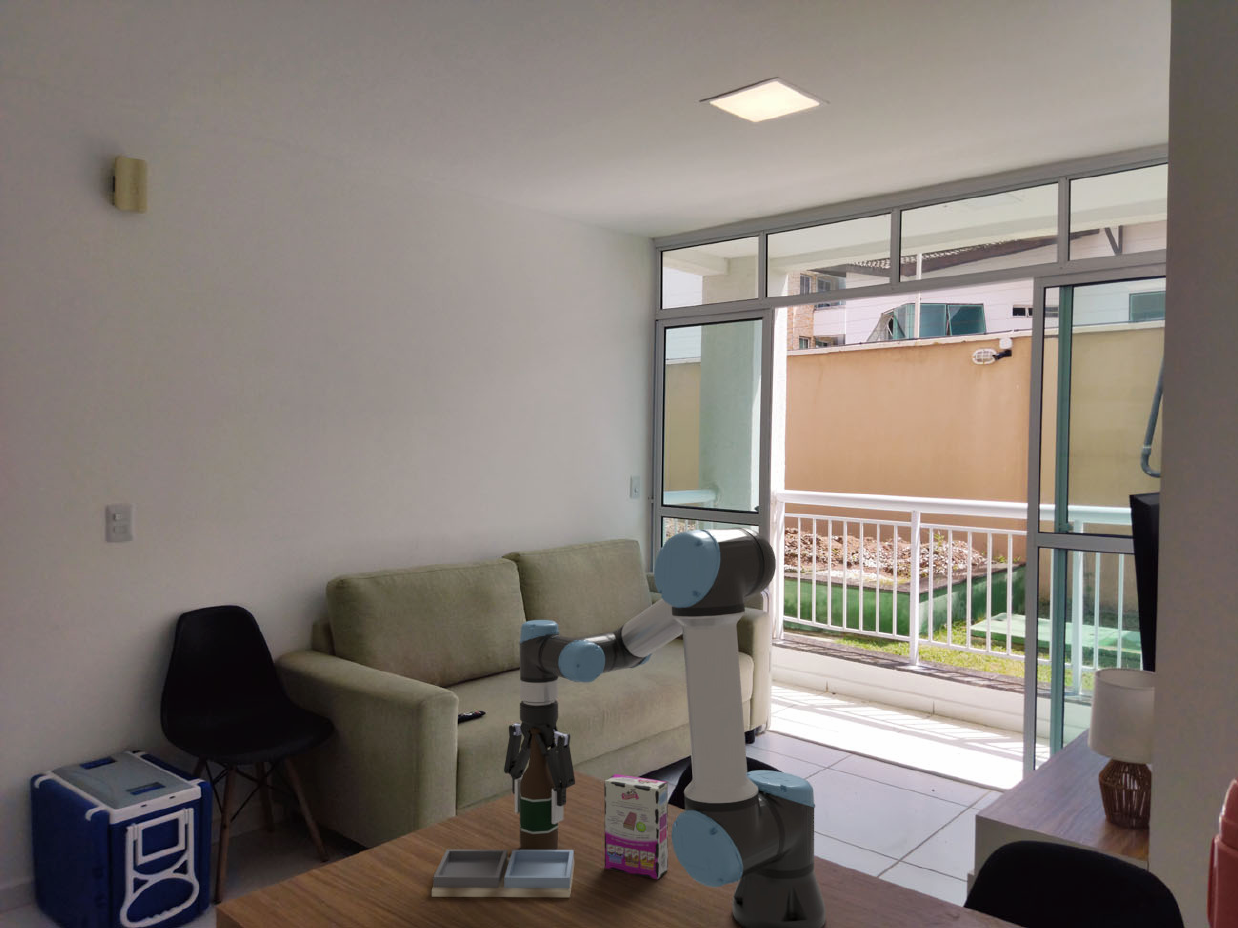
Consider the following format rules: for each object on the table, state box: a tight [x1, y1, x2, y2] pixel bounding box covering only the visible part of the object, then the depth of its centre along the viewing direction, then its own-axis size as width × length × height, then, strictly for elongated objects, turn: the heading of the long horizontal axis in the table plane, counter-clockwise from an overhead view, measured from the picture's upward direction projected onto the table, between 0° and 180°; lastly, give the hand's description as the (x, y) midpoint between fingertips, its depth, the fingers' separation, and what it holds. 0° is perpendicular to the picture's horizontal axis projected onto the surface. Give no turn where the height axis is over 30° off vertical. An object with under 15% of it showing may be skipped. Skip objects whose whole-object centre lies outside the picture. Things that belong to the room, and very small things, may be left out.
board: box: [431, 856, 575, 898], centre depth 160 cm, size 24×13×1 cm, turn 90°
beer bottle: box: [519, 727, 559, 850], centre depth 173 cm, size 8×8×24 cm
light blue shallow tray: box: [504, 849, 575, 888], centre depth 160 cm, size 11×11×2 cm
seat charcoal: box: [432, 848, 508, 888], centre depth 160 cm, size 11×11×2 cm
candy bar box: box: [603, 773, 669, 880], centre depth 164 cm, size 11×5×16 cm, turn 64°
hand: (538, 815), depth 173 cm, fingers open, 9 cm apart
